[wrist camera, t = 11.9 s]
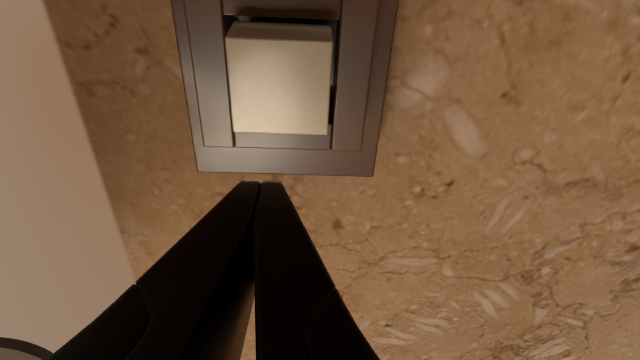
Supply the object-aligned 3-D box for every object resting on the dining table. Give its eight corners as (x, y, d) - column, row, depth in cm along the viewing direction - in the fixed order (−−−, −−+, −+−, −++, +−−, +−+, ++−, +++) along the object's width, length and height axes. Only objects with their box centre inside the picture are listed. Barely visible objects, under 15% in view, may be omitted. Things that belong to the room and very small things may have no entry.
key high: (326, 112, 16) (327, 135, 14) (239, 109, 16) (232, 132, 14) (331, 24, 14) (333, 41, 12) (233, 20, 14) (223, 37, 12)
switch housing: (368, 151, 21) (378, 202, 18) (206, 146, 21) (186, 197, 17) (403, -118, 14) (429, -117, 11) (169, -131, 14) (127, -133, 11)
